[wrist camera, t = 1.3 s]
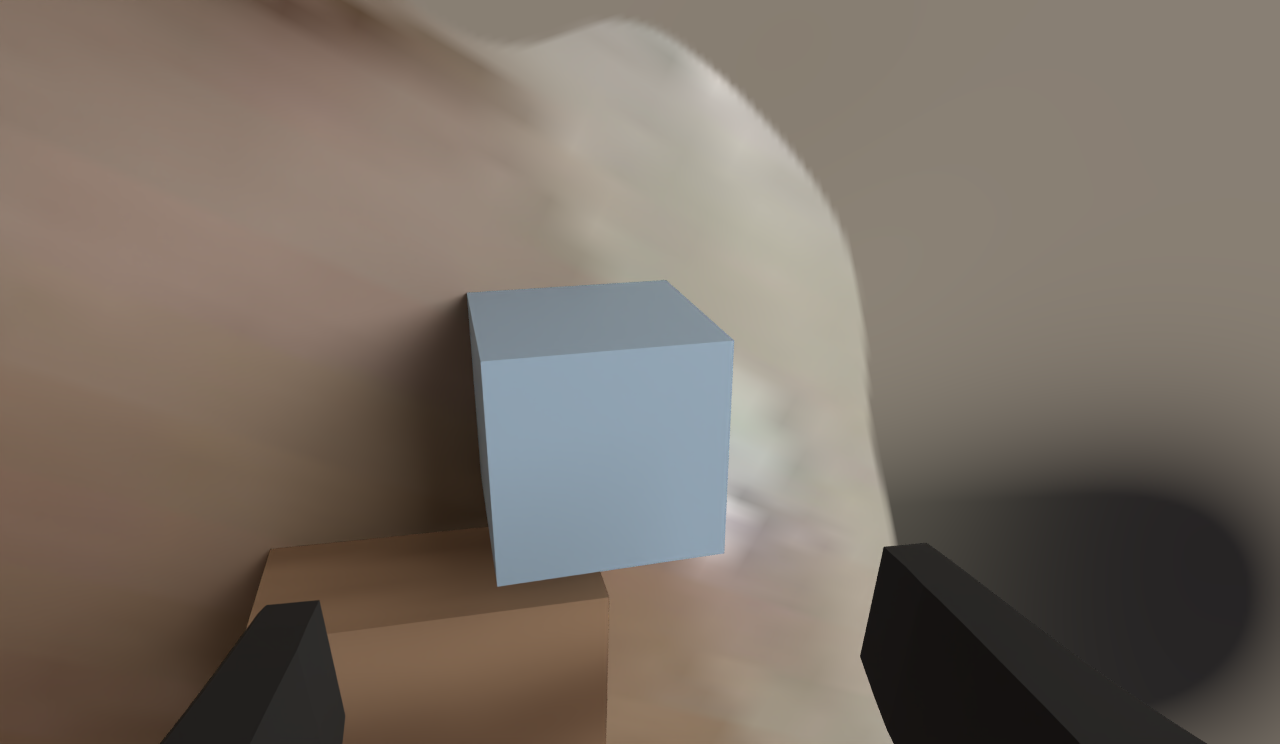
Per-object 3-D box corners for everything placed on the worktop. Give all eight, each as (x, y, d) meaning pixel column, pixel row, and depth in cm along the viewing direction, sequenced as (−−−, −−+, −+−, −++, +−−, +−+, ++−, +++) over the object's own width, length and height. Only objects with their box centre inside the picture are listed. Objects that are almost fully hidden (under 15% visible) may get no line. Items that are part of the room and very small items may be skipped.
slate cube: (662, 454, 22) (724, 552, 18) (480, 474, 21) (497, 586, 17) (665, 279, 21) (733, 340, 16) (466, 291, 19) (480, 361, 15)
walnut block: (577, 732, 25) (603, 843, 22) (307, 778, 23) (287, 908, 20) (578, 511, 23) (609, 597, 19) (272, 543, 21) (240, 645, 17)
